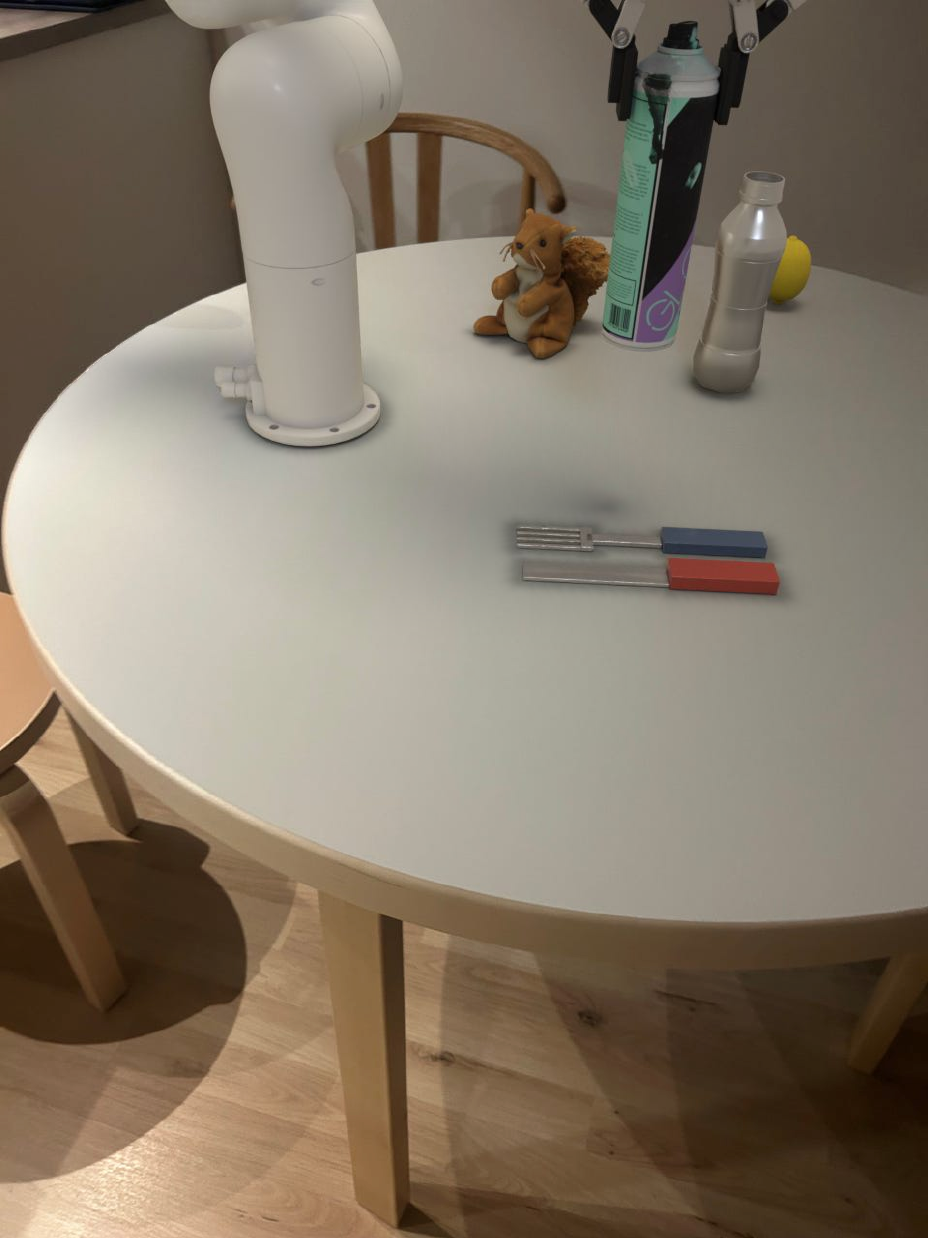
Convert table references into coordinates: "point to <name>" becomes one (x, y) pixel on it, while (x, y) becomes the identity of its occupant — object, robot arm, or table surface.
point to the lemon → (791, 271)
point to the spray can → (659, 191)
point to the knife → (666, 575)
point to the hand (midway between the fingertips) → (670, 114)
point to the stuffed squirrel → (545, 284)
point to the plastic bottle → (742, 285)
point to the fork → (649, 540)
